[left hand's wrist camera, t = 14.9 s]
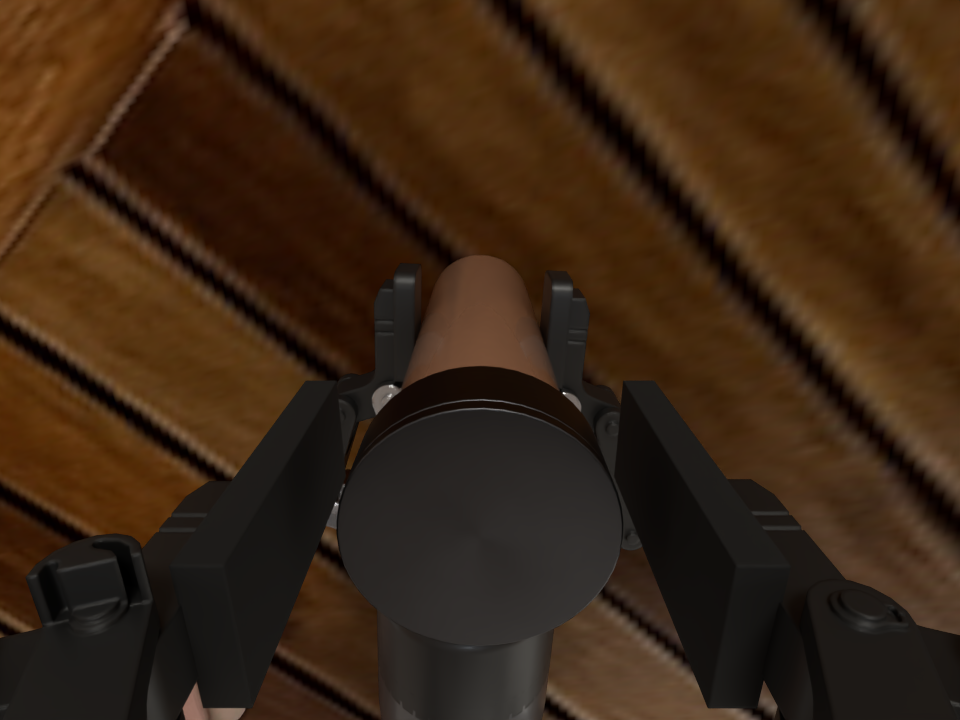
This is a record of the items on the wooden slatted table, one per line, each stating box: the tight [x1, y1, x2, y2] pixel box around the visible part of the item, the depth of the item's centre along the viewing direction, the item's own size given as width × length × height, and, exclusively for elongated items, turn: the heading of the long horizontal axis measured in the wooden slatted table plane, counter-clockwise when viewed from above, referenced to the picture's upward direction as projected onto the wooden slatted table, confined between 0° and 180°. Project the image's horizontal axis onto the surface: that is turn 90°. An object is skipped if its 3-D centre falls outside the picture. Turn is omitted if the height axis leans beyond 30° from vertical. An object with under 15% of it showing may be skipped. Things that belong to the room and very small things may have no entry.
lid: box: [336, 366, 623, 646], centre depth 11 cm, size 5×5×2 cm
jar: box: [400, 255, 560, 391], centre depth 18 cm, size 4×4×16 cm
